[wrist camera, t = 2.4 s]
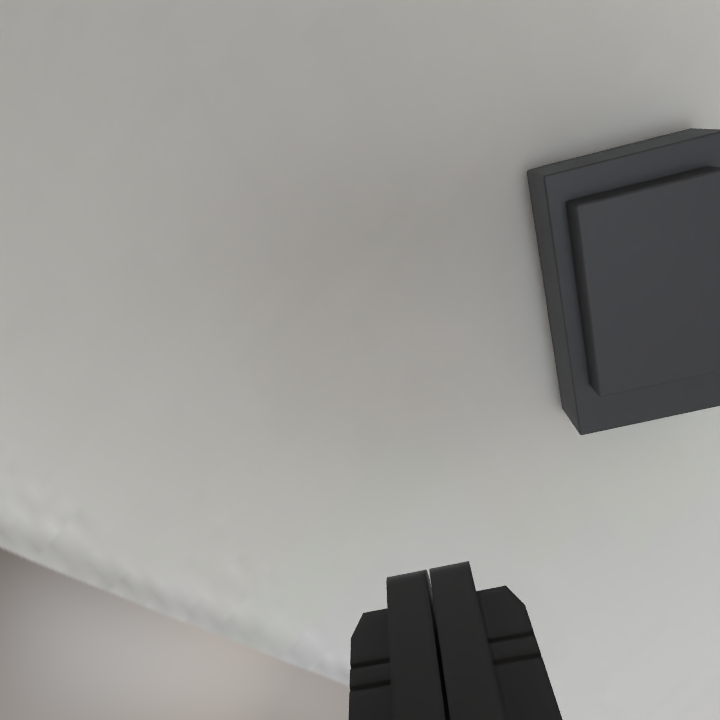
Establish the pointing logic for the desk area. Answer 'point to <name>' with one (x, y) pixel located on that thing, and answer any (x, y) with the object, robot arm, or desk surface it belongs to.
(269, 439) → the desk surface
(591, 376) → the dark raised-panel slab
